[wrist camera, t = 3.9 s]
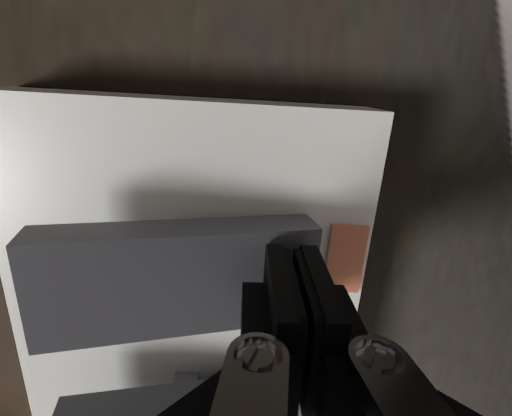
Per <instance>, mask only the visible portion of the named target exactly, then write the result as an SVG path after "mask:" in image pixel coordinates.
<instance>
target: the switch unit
mask: <svg viewBox="0 0 512 416" xmlns="http://www.w3.org/2000/svg"><path fill="white" fill-rule="evenodd" d="M393 117H394V112H391V111H386V110H381V109H376V108H371V107H366V106H350V105H333V104H315V103H297V102H280V101H262V100H244V99H226V98H209V97H191V96H173V95H155V94H138V93H120V92H102V91H85V90H67V89H49V88H31V87H0V276H1V280H2V285H3V289H4V293H5V298H6V302H7V307H8V311H9V316H10V320H11V324H12V329H13V333H14V338H15V342H16V347H17V351H18V355H19V360H20V364H21V369H22V373H23V378H24V382H25V386H26V391H27V395H28V400H29V404H30V409H31V413H32V416H52V415H53V412H54V409H55V407H56V404H57V402H58V399H59V397H61V396H69V395H77V394H86V393H94V392H102V391H110V390H119V389H127V388H135V387H144V386H152V385H160V384H168V383H177V382H185V381H193V380H202V379H208V378H210V377H211V376H213V375H214V374H215V373H217V372H218V371H220V370H221V369H222V367H223V363H224V360H225V356H226V352H227V349H228V347H229V345H230V343H231V342H232V341H233V340H234V339H235V338H237V337H239V336H240V332H241V329H239V330H231V331H223V332H215V333H207V334H199V335H191V336H183V337H175V338H167V339H159V340H151V341H143V342H135V343H127V344H119V345H111V346H103V347H95V348H87V349H79V350H71V351H63V352H55V353H47V354H39V355H31V356H29V354H28V350H27V345H26V340H25V336H24V331H23V326H22V321H21V317H20V312H19V307H18V303H17V298H16V293H15V289H14V284H13V279H12V274H11V270H10V265H9V260H8V256H7V251H6V245H7V244H8V243H9V242H10V241H11V240H12V239H13V238H14V237H15V235H16V234H17V233H18V232H19V231H20V230H21V229H22V228H23V227H24V226H25V225H47V224H71V223H95V222H120V221H144V220H169V219H193V218H218V217H242V216H267V215H291V214H307V215H308V216H309V217H310V218H311V219H312V220H313V221H314V222H316V223H317V224H318V225H319V226H320V227H321V228H322V229H323V230H322V238H321V246H320V253H321V255H322V257H323V259H324V262H325V264H326V266H327V269H328V271H329V273H330V275H331V278H332V280H333V282H334V284H335V285H344V286H345V288H346V290H347V292H348V294H349V296H350V298H351V300H352V302H353V304H354V306H355V308H356V310H357V311H358V306H359V301H360V295H361V290H362V284H363V279H364V274H365V268H366V263H367V258H368V252H369V247H370V241H371V236H372V231H373V225H374V220H375V214H376V209H377V204H378V198H379V193H380V187H381V182H382V177H383V171H384V166H385V160H386V155H387V150H388V144H389V139H390V133H391V128H392V123H393ZM299 416H302V415H301V409H300V411H299Z"/></svg>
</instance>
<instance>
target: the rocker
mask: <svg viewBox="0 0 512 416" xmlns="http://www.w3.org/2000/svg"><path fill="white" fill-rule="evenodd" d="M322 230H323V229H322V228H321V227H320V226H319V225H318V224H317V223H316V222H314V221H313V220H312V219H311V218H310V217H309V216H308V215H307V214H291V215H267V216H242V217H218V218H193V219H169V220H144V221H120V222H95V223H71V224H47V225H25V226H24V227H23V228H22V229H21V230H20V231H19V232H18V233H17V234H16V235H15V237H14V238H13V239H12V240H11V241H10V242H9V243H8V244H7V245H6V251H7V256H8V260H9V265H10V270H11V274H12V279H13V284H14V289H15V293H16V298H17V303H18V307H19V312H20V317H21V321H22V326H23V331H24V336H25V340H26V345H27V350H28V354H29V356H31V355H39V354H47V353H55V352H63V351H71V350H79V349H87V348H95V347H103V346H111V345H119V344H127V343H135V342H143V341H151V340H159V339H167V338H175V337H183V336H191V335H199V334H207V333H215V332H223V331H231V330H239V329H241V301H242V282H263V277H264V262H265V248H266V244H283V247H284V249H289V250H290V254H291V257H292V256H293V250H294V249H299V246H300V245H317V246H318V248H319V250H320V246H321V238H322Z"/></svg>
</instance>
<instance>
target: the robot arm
mask: <svg viewBox="0 0 512 416" xmlns="http://www.w3.org/2000/svg"><path fill="white" fill-rule="evenodd" d="M299 403H300V409H301V415H302V416H482V415H480V414H478V413H477V412H475V411H473V410H471V409H470V408H468V407H466V406H464V405H463V404H461V403H459V402H457V401H456V400H454V399H452V398H450V397H449V396H447V395H445V394H443V393H442V392H440V391H438V390H437V389H436V388H435V387H434V386H433V384H432V383H431V382H430V381H429V379H428V378H427V377H426V376H425V374H424V373H423V372H422V371H421V369H420V368H419V367H418V366H417V364H416V363H415V362H414V361H413V359H412V358H411V357H410V355H409V354H408V353H407V352H406V351H405V350H404V349H403V348H402V347H401V346H400V345H398V344H397V343H395V342H393V341H392V340H389V339H387V338H385V337H381V336H377V335H368V333H367V331H366V329H365V327H364V324H363V322H362V320H361V318H360V316H359V314H358V312H357V310H356V308H355V306H354V304H353V302H352V300H351V298H350V296H349V294H348V292H347V290H346V288H345V286H344V285H335V284H334V282H333V280H332V278H331V275H330V273H329V271H328V269H327V266H326V264H325V262H324V259H323V257H322V255H321V253H320V250H319V248H318V246H317V245H300V246H299V249H294V250H293V256H292V257H291V254H290V250H289V249H284V247H283V244H266V248H265V262H264V277H263V282H242V301H241V332H240V336H239V337H237V338H235V339H234V340H233V341H232V342H231V343H230V345H229V347H228V349H227V352H226V356H225V360H224V363H223V367H222V369H221V370H220V371H218V372H217V373H215V374H214V375H213V376H211V377H210V378H208V379H207V380H206V381H204V382H203V383H201V384H200V385H199V386H197V387H196V388H194V389H193V390H192V391H190V392H189V393H187V394H186V395H185V396H183V397H182V398H180V399H179V400H178V401H176V402H175V403H174V404H172V405H171V406H169V407H168V408H167V409H165V410H164V411H162V412H161V413H160V414H158V415H157V416H298V409H299Z"/></svg>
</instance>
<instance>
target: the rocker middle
mask: <svg viewBox="0 0 512 416" xmlns="http://www.w3.org/2000/svg"><path fill="white" fill-rule="evenodd" d="M206 380H207V379H202V380H193V381H185V382H177V383H168V384H160V385H152V386H144V387H135V388H127V389H119V390H110V391H102V392H94V393H86V394H77V395H69V396H61V397H59V399H58V402H57V404H56V407H55V409H54V412H53V415H52V416H157V415H158V414H160V413H161V412H162V411H164V410H165V409H167V408H168V407H169V406H171V405H172V404H174V403H175V402H176V401H178V400H179V399H180V398H182V397H183V396H185V395H186V394H187V393H189V392H190V391H192V390H193V389H194V388H196V387H197V386H199V385H200V384H201V383H203V382H204V381H206ZM299 411H300V403H299V409H298V416H299Z"/></svg>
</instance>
